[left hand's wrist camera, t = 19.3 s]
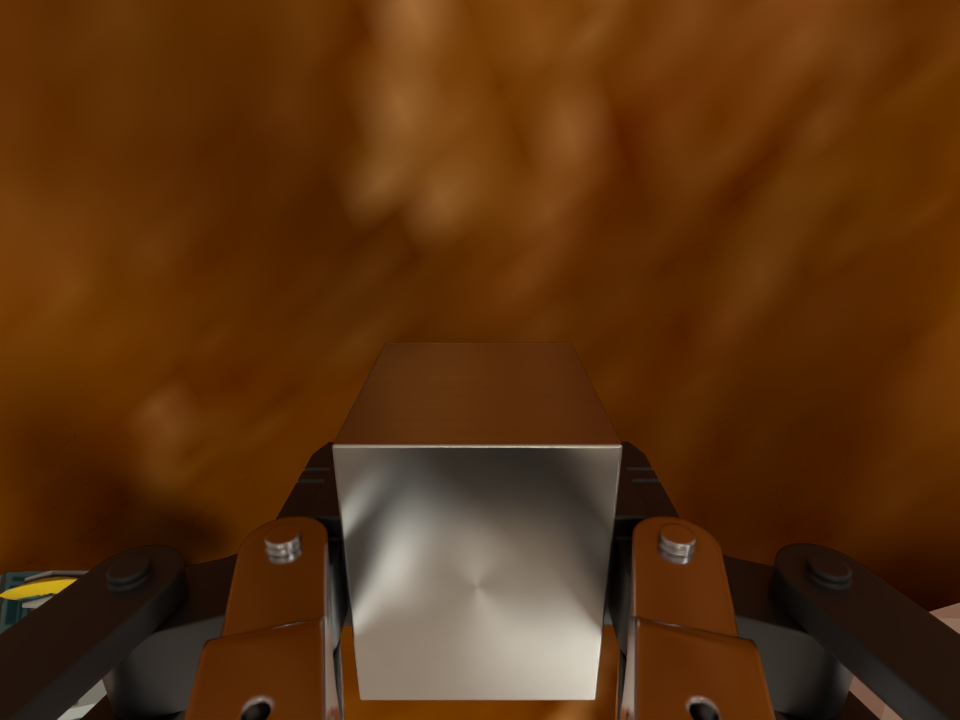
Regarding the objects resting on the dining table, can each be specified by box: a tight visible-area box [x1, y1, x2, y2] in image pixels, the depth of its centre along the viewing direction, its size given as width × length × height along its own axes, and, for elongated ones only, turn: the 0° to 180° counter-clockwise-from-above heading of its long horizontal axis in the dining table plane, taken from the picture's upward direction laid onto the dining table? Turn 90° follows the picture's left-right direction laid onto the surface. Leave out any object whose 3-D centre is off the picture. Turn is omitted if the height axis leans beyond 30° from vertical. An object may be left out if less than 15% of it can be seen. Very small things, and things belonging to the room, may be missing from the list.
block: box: [332, 343, 623, 700], centre depth 10 cm, size 4×5×4 cm
